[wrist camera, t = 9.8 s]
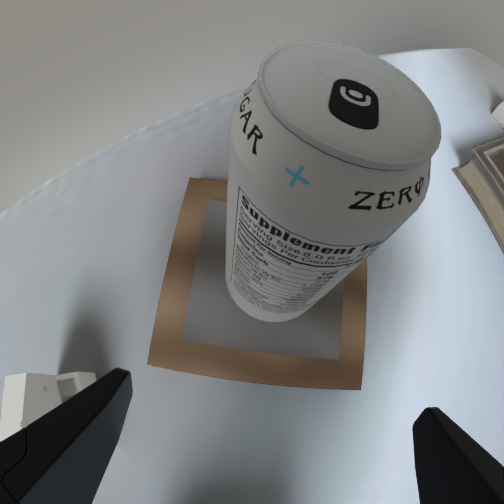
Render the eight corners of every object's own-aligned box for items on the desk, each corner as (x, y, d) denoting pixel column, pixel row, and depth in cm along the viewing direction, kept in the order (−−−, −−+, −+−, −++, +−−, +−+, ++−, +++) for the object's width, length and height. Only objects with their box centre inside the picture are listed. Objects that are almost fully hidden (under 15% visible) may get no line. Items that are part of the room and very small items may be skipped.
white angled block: (83, 508, 13) (-1, 478, 8) (74, 396, 21) (13, 333, 15) (127, 507, 14) (50, 483, 8) (111, 390, 21) (55, 323, 16)
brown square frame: (347, 389, 21) (364, 390, 18) (155, 365, 20) (145, 363, 17) (353, 221, 26) (367, 203, 23) (192, 194, 26) (189, 173, 23)
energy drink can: (324, 252, 21) (442, 78, 8) (304, 336, 19) (473, 231, 5) (241, 226, 22) (268, 16, 8) (212, 308, 19) (188, 132, 5)
